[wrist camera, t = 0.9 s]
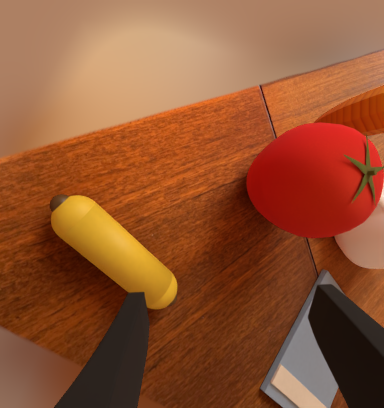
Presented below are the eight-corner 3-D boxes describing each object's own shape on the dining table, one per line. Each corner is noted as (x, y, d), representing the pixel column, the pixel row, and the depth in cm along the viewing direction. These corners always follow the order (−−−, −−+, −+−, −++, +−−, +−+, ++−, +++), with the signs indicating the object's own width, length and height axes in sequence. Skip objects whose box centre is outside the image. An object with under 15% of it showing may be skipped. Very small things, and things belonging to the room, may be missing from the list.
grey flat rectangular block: (312, 432, 36) (319, 438, 35) (259, 388, 31) (266, 394, 30) (360, 320, 42) (367, 323, 41) (322, 269, 37) (329, 270, 36)
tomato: (301, 176, 35) (419, 162, 24) (271, 246, 32) (390, 266, 21) (249, 121, 30) (365, 71, 19) (208, 196, 27) (318, 189, 16)
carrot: (292, 137, 34) (443, 94, 21) (301, 107, 35) (451, 47, 22) (313, 155, 36) (461, 127, 23) (321, 126, 37) (468, 83, 24)
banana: (177, 280, 25) (195, 291, 22) (153, 311, 24) (169, 327, 21) (70, 182, 21) (74, 178, 18) (34, 214, 19) (31, 216, 16)
